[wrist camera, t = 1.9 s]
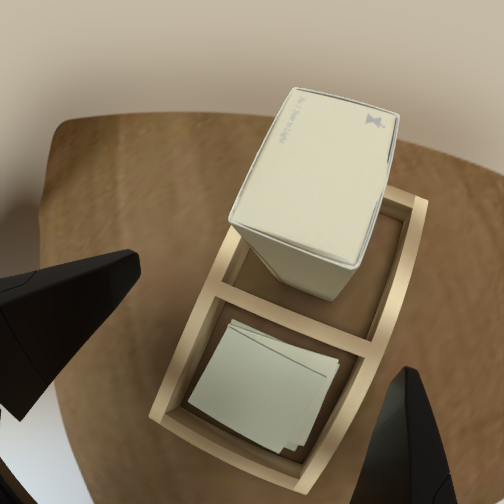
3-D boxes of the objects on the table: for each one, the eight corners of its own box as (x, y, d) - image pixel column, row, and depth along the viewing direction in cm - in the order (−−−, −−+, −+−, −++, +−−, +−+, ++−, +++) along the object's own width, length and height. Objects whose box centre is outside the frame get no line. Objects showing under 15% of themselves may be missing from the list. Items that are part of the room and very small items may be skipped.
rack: (308, 478, 16) (306, 494, 13) (164, 409, 19) (148, 416, 17) (418, 214, 19) (428, 200, 17) (273, 166, 23) (267, 148, 20)
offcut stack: (299, 448, 17) (296, 461, 15) (198, 401, 20) (184, 407, 17) (344, 360, 18) (347, 364, 16) (237, 315, 21) (227, 313, 19)
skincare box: (308, 205, 21) (291, 80, 10) (364, 225, 20) (403, 109, 9) (275, 284, 20) (217, 218, 9) (334, 308, 19) (359, 272, 8)
